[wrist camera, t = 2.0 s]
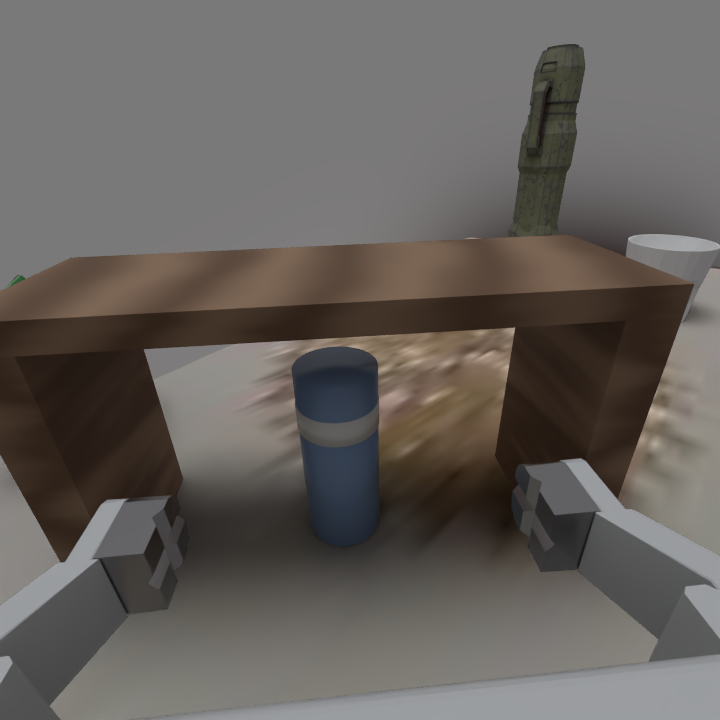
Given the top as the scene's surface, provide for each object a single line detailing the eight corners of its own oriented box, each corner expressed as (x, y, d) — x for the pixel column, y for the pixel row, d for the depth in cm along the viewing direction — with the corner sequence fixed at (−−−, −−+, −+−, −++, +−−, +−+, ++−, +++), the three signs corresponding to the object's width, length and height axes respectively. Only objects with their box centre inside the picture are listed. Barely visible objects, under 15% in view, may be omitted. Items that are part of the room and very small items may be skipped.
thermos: (494, 267, 82) (521, 46, 65) (517, 255, 90) (546, 55, 73) (540, 275, 77) (582, 37, 60) (560, 260, 85) (602, 47, 68)
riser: (86, 607, 24) (-73, 325, 16) (150, 481, 33) (71, 257, 24) (594, 562, 25) (694, 283, 17) (524, 453, 34) (569, 234, 26)
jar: (308, 550, 27) (287, 391, 21) (310, 493, 31) (293, 348, 25) (384, 543, 27) (384, 385, 21) (375, 487, 31) (373, 344, 26)
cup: (647, 330, 54) (672, 254, 50) (594, 304, 63) (611, 237, 58) (711, 322, 56) (741, 247, 51) (651, 297, 65) (672, 232, 60)
